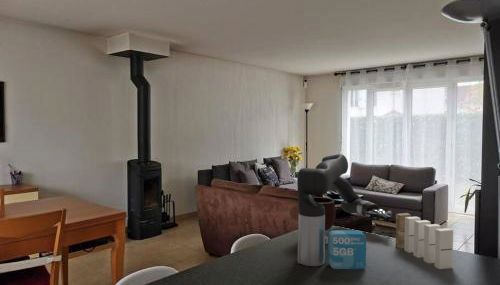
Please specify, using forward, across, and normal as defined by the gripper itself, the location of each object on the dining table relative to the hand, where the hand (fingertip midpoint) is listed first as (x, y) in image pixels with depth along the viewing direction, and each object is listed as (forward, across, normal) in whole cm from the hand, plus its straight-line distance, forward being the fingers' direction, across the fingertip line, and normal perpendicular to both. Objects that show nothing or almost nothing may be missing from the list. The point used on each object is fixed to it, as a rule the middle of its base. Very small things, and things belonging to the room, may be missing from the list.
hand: (390, 219), depth 157 cm
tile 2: (+14, 0, +9) cm, 17 cm away
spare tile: (+9, 0, +9) cm, 12 cm away
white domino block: (+26, 0, +9) cm, 27 cm away
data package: (+23, -32, +9) cm, 40 cm away
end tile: (+31, 0, +9) cm, 32 cm away
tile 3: (+20, 0, +9) cm, 22 cm away
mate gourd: (-7, -30, +9) cm, 32 cm away
